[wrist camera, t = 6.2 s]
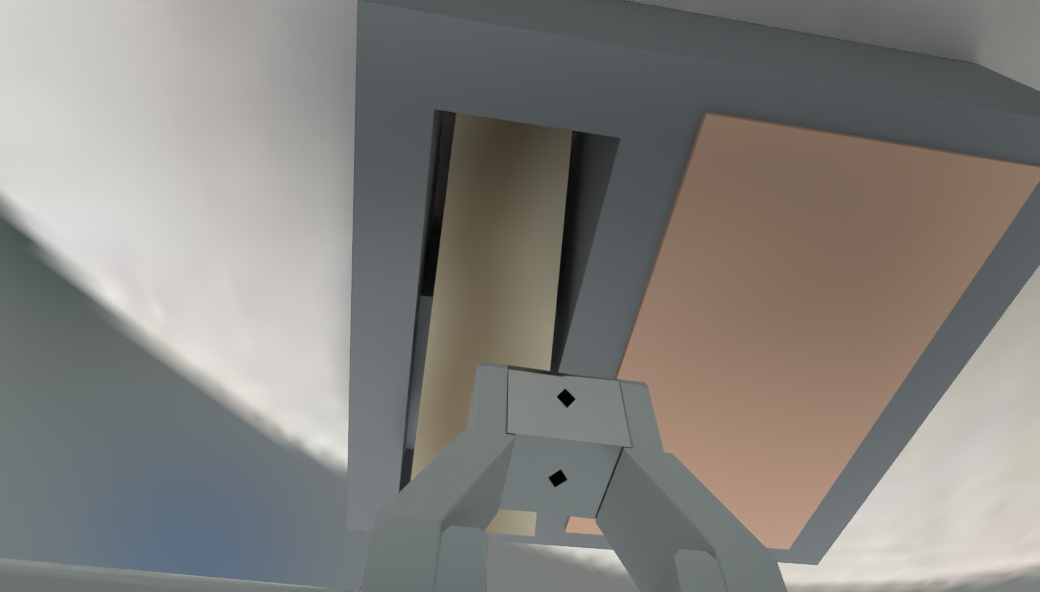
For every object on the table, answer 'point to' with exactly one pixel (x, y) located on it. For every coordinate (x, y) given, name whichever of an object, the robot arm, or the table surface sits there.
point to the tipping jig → (703, 237)
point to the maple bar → (493, 274)
